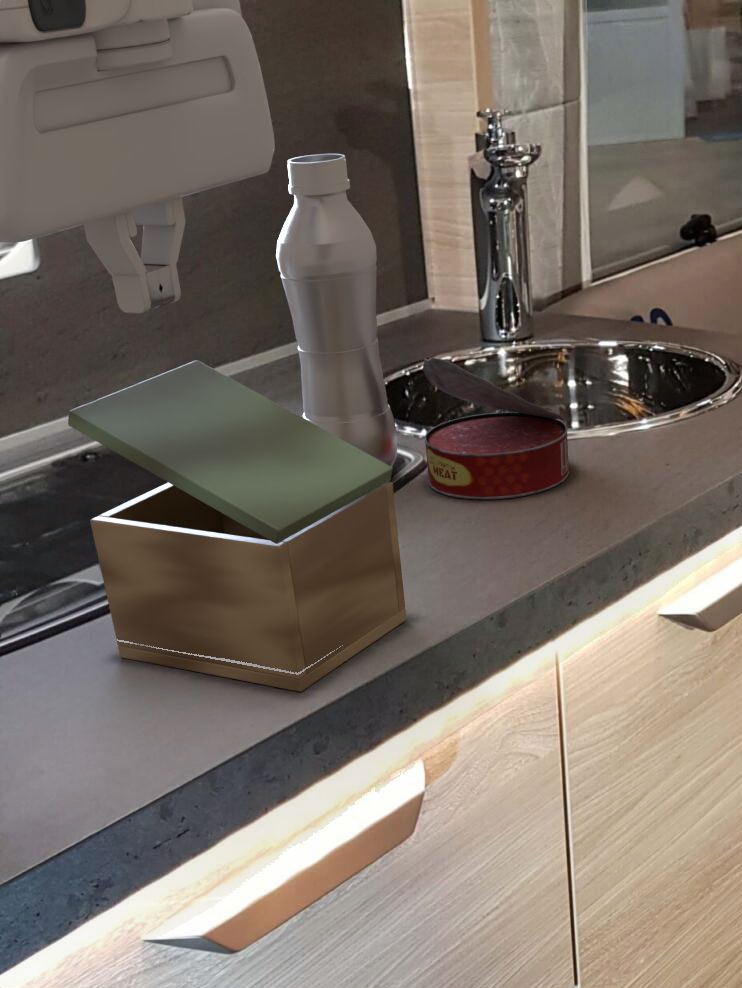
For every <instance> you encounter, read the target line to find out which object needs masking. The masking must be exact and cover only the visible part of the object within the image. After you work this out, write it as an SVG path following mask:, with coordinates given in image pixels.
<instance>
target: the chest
mask: <svg viewBox="0 0 742 988" xmlns="http://www.w3.org/2000/svg"><path fill="white" fill-rule="evenodd" d="M397 522H398V521H397V513H396V504H395V493H394V483H392V482H387V483H385V484H383V485H381V486H379V487H378V488H376V489H374V490H372V491H371V492H369V493H367V494H365V495H363V496H362V497H360V498H358V499H356V500H354V501H353V502H351V503H349V504H347V505H346V506H344V507H342V508H340V509H338V510H337V511H335V512H333V513H331V514H329V515H328V516H326V517H324V518H322V519H321V520H319V521H317V522H315V523H313V524H312V525H310V526H308V527H306V528H304V529H303V530H301V531H299V532H297V533H296V534H294V535H292V536H290V537H288V538H287V539H285V540H283V541H281V542H279V543H278V544H275V543H274V542H272V541H270V540H268V539H267V538H265V537H263V536H261V535H260V534H258V533H256V532H254V531H253V530H251V529H249V528H247V527H246V526H244V525H242V524H240V523H239V522H237V521H235V520H233V519H232V518H230V517H228V516H226V515H225V514H223V513H221V512H219V511H218V510H216V509H214V508H212V507H211V506H209V505H207V504H205V503H204V502H202V501H200V500H198V499H197V498H195V497H193V496H191V495H190V494H188V493H186V492H184V491H183V490H181V489H179V488H177V487H176V486H174V485H172V484H170V483H169V482H166V483H164V484H162V485H160V486H158V487H156V488H154V489H152V490H149V491H147V492H145V493H143V494H141V495H139V496H137V497H134V498H132V499H130V500H128V501H127V502H124V503H122V504H120V505H118V506H116V507H114V508H112V509H109V510H107V511H105V512H103V513H101V514H99V515H98V516H95V517H93V518H91V519H90V520H89V523H90V526H91V527H90V528H91V531H92V536H93V540H94V544H95V549H96V554H97V557H98V563H99V568H100V572H101V576H102V581H103V585H104V589H105V594H106V599H107V603H108V609H109V613H110V616H111V617H110V618H111V621H112V626H113V630H114V635H115V639H118V640H124V641H129V642H133V643H137V644H138V643H139V644H144V645H148V646H149V645H150V646H152V647H153V646H154V647H157V648H158V647H159V648H163V649H168V650H174V651H179V652H186V653H190V654H191V653H192V654H197V655H198V654H199V655H204V656H211V657H216V658H225V659H230V660H235V661H240V662H241V661H242V662H245V663H246V662H247V663H252V664H257V665H260V666H265V667H270V668H275V669H277V668H278V669H281V670H286V671H289V672H290V671H291V672H294V673H295V672H297V673H298V672H300V671H302V670H303V669H305V668H306V667H308V666H310V665H311V664H314V663H315V662H317V661H318V660H320V659H321V658H323V657H324V656H326V655H327V654H329V653H330V652H332V651H334V650H335V651H334V652H332V653H331V654H329V655H328V656H326V657H325V658H323V659H322V660H320V661H319V662H317V663H316V664H314V665H313V666H311V667H310V668H308V669H306V670H305V671H304V672H302V673H301V674H299V675H296V674H290V673H285V672H279V671H274V670H269V669H263V668H258V667H253V666H247V665H242V664H237V663H231V662H226V661H221V660H215V659H210V658H205V657H199V656H194V655H188V654H183V653H178V652H172V651H167V650H162V649H156V648H151V647H146V646H140V645H135V644H130V643H124V642H119V641H117V640H116V644H117V648H118V653H119V657H120V658H123V659H128V660H134V661H139V662H144V663H149V664H155V665H160V666H165V667H169V668H175V669H180V670H186V671H191V672H196V673H200V674H206V675H211V676H218V677H221V678H226V679H227V678H228V679H232V680H238V681H243V682H247V683H253V684H258V685H263V686H269V687H274V688H280V689H285V690H290V691H295V692H303V691H304V690H305V689H307V688H309V687H311V686H312V685H313V684H315V683H316V682H318V681H319V680H320V679H322V678H323V677H325V676H326V675H328V674H329V673H331V672H332V671H334V670H335V669H336V668H338V667H339V666H341V665H342V664H344V663H345V662H347V661H348V660H350V659H351V658H352V657H354V656H355V655H357V654H359V653H360V652H361V651H363V650H365V649H366V648H367V647H369V646H370V645H371V644H373V643H374V642H376V641H377V640H380V638H382V637H383V636H385V635H386V634H388V633H389V632H391V631H392V630H394V629H395V628H397V627H398V626H399V625H401V624H403V623H404V622H405V621H407V619H408V618H407V609H406V599H405V598H406V597H405V589H404V581H403V580H404V579H403V572H402V571H403V569H402V561H401V551H400V541H399V532H398V523H397ZM342 645H343V646H342ZM340 646H341V647H340ZM339 647H340V648H339ZM337 648H338V649H337ZM336 649H337V650H336Z"/></svg>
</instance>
